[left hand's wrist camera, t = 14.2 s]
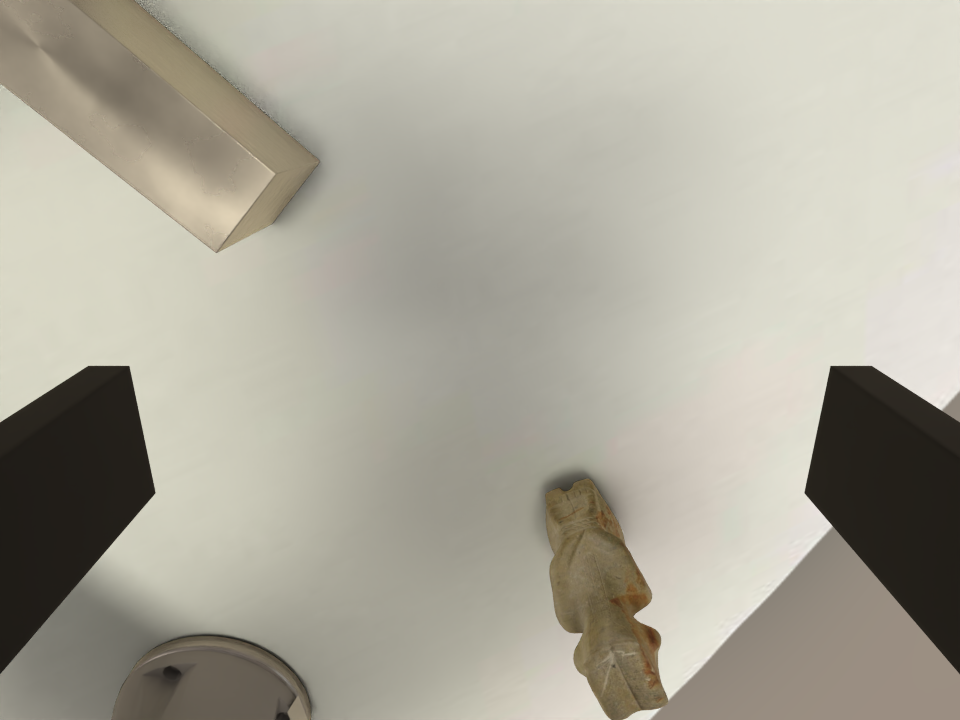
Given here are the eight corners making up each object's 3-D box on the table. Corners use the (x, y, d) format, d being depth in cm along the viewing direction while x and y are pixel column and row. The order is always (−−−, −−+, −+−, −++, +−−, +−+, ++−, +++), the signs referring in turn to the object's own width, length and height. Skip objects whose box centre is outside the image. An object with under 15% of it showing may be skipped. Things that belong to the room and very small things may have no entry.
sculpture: (556, 561, 49) (587, 743, 34) (526, 483, 46) (546, 644, 32) (631, 540, 48) (694, 716, 34) (604, 459, 45) (661, 613, 31)
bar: (320, 161, 38) (276, 174, 30) (271, 224, 40) (216, 253, 32) (-19, -132, 33) (-184, -214, 25) (-62, -48, 35) (-233, -99, 26)
